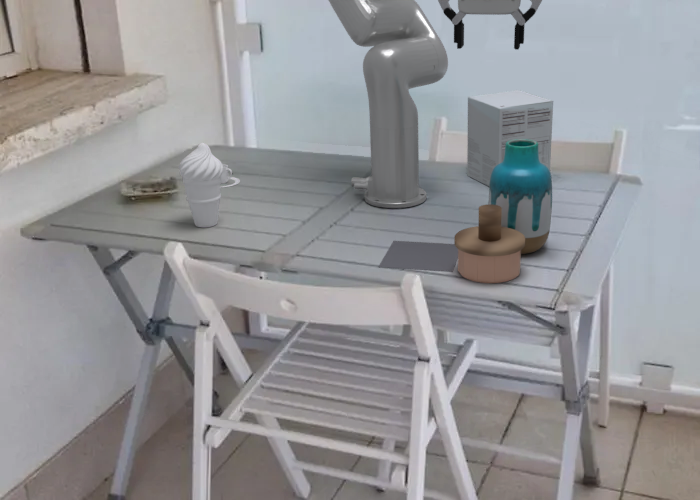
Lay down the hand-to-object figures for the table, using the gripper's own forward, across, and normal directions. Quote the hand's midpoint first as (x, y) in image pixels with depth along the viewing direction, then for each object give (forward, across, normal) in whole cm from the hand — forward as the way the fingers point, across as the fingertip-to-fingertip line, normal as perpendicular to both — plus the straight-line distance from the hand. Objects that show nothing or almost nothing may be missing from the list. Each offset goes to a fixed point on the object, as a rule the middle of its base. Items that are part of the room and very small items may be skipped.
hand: (488, 47), depth 161 cm
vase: (+33, +7, -10) cm, 35 cm away
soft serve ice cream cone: (+34, -53, -5) cm, 63 cm away
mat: (+33, -9, -16) cm, 38 cm away
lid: (+28, +3, -21) cm, 35 cm away
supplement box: (+34, +1, +32) cm, 46 cm away
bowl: (+33, +4, -21) cm, 39 cm away
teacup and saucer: (+34, -61, +24) cm, 74 cm away
